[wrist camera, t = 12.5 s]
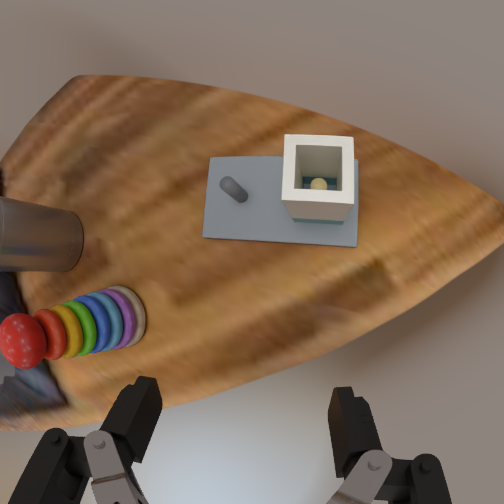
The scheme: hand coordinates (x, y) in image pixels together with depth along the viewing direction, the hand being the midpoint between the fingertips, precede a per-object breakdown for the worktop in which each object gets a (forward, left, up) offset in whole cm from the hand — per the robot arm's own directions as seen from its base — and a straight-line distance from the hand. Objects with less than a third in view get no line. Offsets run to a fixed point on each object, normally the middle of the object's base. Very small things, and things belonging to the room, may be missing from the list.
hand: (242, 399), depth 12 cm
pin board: (-2, +13, -18) cm, 22 cm away
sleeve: (+2, +13, -17) cm, 21 cm away
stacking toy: (-21, -2, -19) cm, 28 cm away
